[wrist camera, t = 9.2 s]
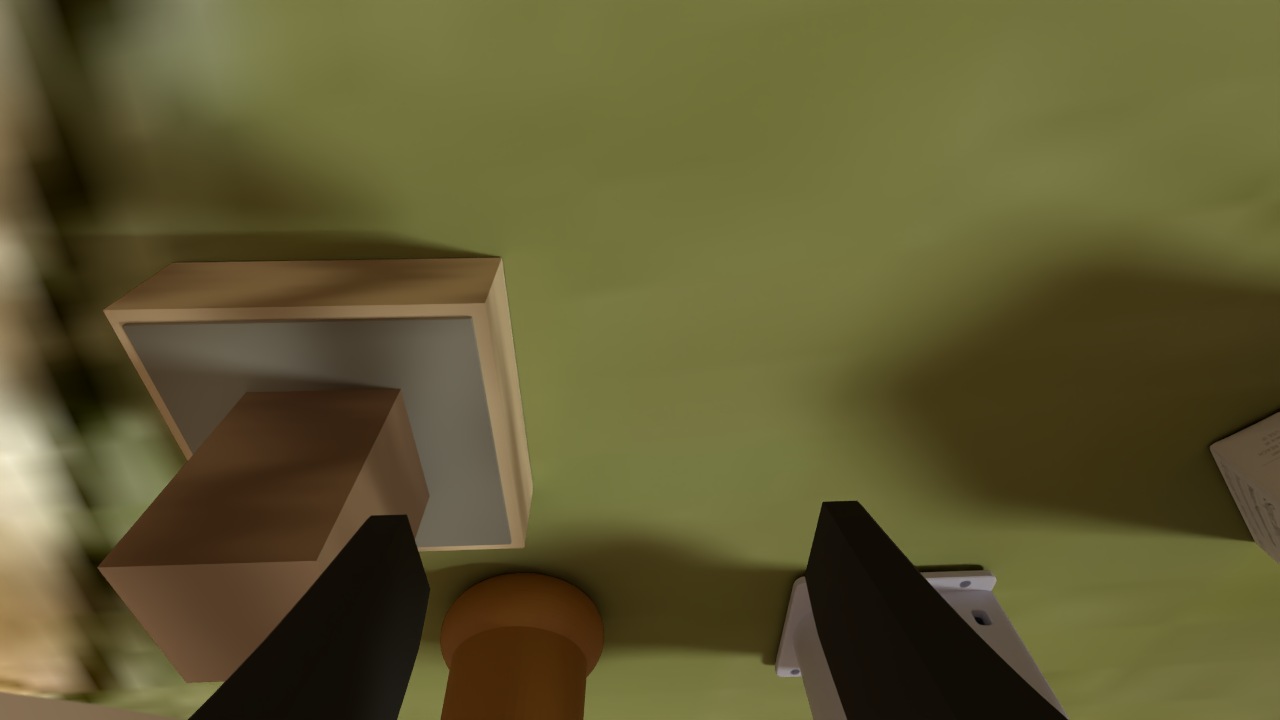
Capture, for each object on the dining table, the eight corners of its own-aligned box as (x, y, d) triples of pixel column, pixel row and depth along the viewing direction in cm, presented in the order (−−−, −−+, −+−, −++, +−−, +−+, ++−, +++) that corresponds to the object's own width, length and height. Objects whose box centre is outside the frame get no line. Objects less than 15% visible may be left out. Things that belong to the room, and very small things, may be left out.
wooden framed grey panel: (501, 257, 19) (483, 305, 16) (532, 487, 24) (523, 551, 22) (172, 262, 18) (98, 312, 16) (280, 494, 24) (239, 560, 21)
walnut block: (400, 389, 17) (316, 561, 12) (429, 496, 20) (368, 675, 15) (245, 392, 17) (97, 567, 12) (293, 499, 20) (186, 682, 15)
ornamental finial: (474, 664, 31) (425, 575, 27) (615, 647, 31) (587, 553, 27) (437, 855, 24) (364, 775, 20) (617, 835, 24) (580, 750, 20)
